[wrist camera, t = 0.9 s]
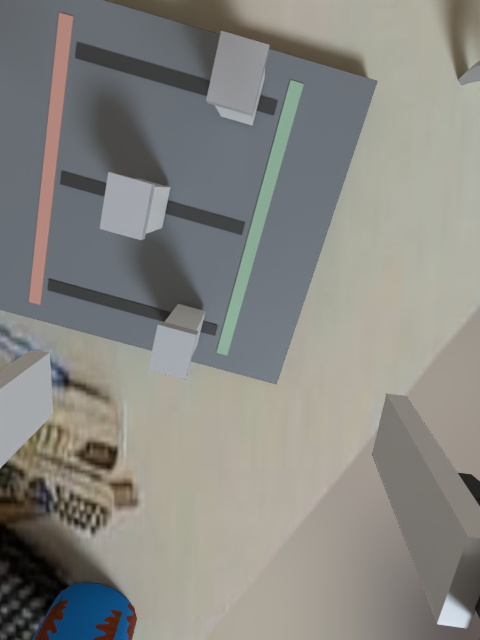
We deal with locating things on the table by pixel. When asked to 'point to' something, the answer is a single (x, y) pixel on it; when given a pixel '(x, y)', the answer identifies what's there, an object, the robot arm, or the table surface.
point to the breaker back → (176, 341)
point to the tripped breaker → (133, 206)
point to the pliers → (471, 75)
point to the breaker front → (237, 77)
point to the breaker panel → (164, 180)
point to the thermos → (88, 615)
